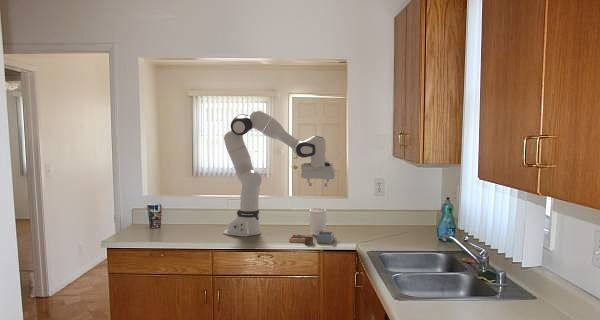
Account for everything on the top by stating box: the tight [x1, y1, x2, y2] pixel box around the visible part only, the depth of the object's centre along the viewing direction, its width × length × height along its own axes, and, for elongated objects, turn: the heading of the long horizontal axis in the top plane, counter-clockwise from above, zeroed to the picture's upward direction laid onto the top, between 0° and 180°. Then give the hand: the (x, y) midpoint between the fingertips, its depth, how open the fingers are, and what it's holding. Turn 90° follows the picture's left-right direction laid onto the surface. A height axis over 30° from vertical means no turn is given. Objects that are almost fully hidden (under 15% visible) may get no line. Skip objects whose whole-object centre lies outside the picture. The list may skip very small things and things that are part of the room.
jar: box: [308, 207, 327, 236], centre depth 254 cm, size 11×10×15 cm
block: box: [304, 234, 314, 246], centre depth 231 cm, size 4×4×5 cm
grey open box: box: [316, 231, 334, 244], centre depth 236 cm, size 8×8×5 cm
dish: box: [288, 234, 307, 244], centre depth 238 cm, size 9×9×2 cm
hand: (318, 186), depth 252 cm, fingers open, 8 cm apart
